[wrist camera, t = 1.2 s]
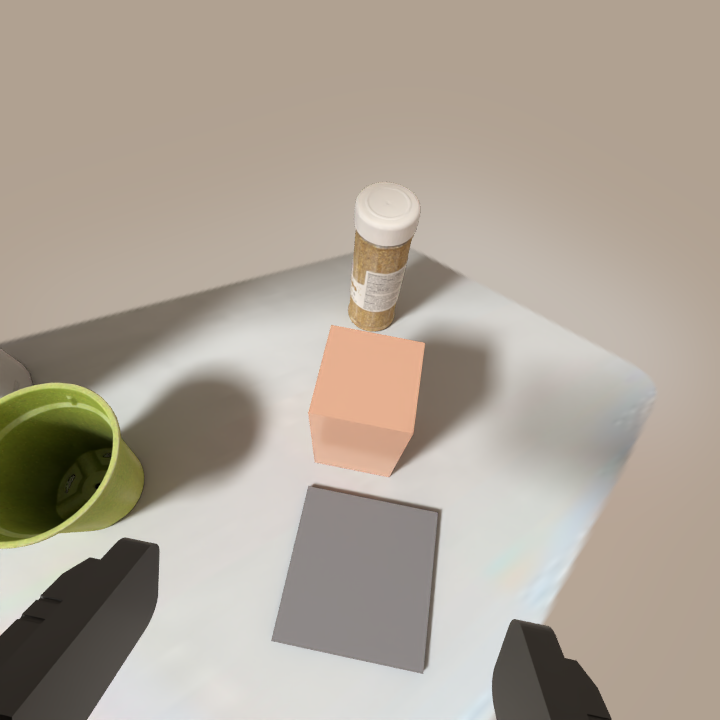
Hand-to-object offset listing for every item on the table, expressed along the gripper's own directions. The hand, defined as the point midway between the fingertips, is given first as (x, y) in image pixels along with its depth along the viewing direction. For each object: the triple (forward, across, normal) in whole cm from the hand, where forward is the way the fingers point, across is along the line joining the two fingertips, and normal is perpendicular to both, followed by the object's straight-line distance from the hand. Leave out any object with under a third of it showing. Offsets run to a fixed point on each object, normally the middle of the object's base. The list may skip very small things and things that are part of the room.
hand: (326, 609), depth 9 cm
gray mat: (+17, -2, +15) cm, 23 cm away
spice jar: (+33, +1, -1) cm, 33 cm away
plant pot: (+19, +18, +13) cm, 29 cm away
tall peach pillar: (+24, 0, +8) cm, 25 cm away
